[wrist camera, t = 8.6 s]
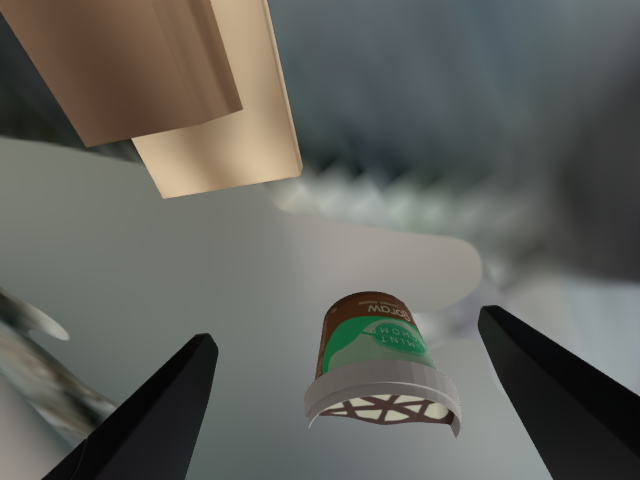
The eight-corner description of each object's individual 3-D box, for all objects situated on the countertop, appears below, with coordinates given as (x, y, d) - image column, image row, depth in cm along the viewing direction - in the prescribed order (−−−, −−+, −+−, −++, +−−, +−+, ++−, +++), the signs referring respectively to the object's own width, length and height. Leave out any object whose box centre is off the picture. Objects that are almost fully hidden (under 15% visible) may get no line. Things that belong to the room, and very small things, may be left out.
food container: (441, 287, 25) (501, 397, 16) (422, 329, 28) (464, 439, 19) (314, 277, 24) (306, 382, 16) (309, 320, 28) (301, 427, 19)
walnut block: (209, -4, 12) (125, -63, 7) (243, 109, 15) (199, 124, 10) (117, 20, 13) (-18, -18, 8) (165, 125, 16) (86, 147, 10)
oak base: (236, -141, 11) (220, -179, 10) (302, 167, 19) (300, 175, 17) (45, -78, 13) (1, -103, 11) (177, 188, 20) (163, 198, 18)
